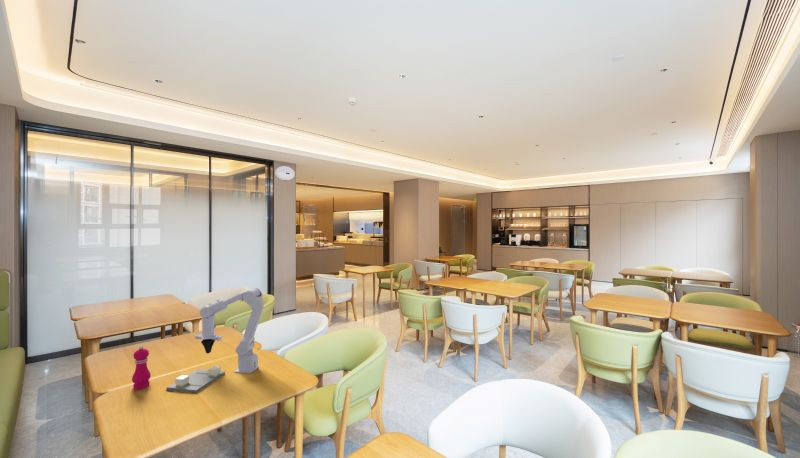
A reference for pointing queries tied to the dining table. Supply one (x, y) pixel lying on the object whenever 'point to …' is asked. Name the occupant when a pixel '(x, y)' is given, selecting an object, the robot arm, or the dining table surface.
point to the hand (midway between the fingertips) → (208, 352)
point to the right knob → (214, 370)
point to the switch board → (196, 382)
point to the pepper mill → (141, 369)
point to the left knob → (182, 380)
